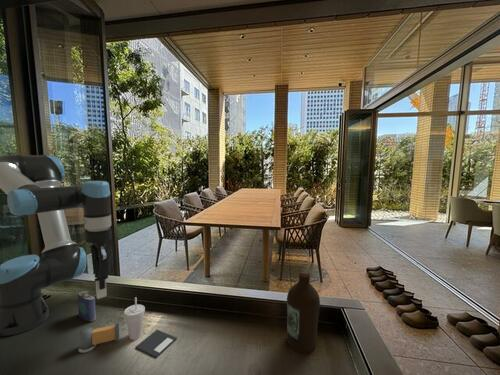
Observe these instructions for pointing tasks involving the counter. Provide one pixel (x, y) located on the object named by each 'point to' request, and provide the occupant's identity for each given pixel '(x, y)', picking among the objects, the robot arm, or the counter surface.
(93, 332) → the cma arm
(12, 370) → the counter surface
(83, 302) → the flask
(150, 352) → the pad
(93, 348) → the base
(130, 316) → the smoothie
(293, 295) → the olive oil
